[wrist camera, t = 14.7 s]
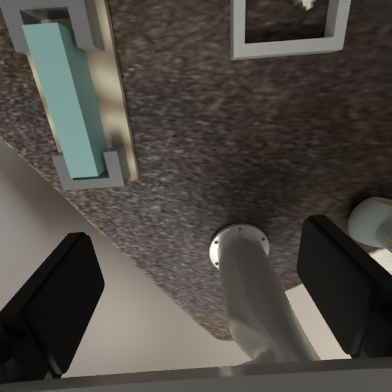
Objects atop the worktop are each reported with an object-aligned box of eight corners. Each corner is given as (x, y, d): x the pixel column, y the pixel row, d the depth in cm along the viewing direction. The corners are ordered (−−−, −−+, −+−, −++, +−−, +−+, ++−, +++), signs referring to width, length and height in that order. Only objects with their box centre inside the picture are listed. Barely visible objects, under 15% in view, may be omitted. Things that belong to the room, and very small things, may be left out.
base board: (139, 176, 40) (137, 179, 39) (73, 181, 40) (69, 184, 39) (107, 0, 30) (103, -5, 28) (18, 7, 30) (10, 3, 29)
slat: (111, 164, 38) (98, 176, 32) (88, 165, 38) (70, 178, 32) (81, 35, 30) (57, 22, 25) (52, 37, 30) (21, 25, 25)
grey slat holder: (130, 177, 39) (124, 185, 35) (75, 181, 39) (63, 190, 35) (94, 1, 29) (80, -13, 25) (20, 7, 29) (-4, -6, 25)
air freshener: (403, 200, 44) (459, 228, 35) (381, 235, 47) (427, 268, 38) (352, 191, 43) (396, 217, 33) (333, 227, 46) (369, 260, 37)
